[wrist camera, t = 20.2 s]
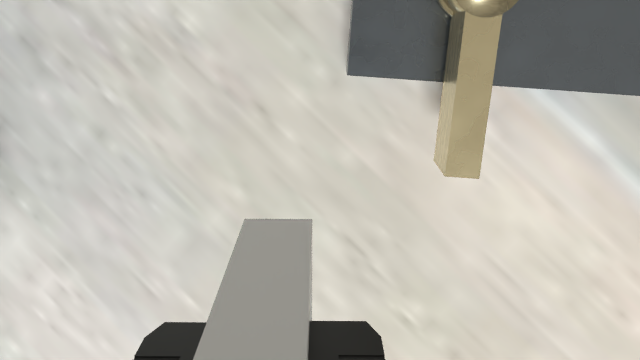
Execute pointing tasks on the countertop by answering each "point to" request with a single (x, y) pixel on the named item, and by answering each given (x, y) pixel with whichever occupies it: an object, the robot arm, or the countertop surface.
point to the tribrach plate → (506, 43)
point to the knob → (467, 84)
